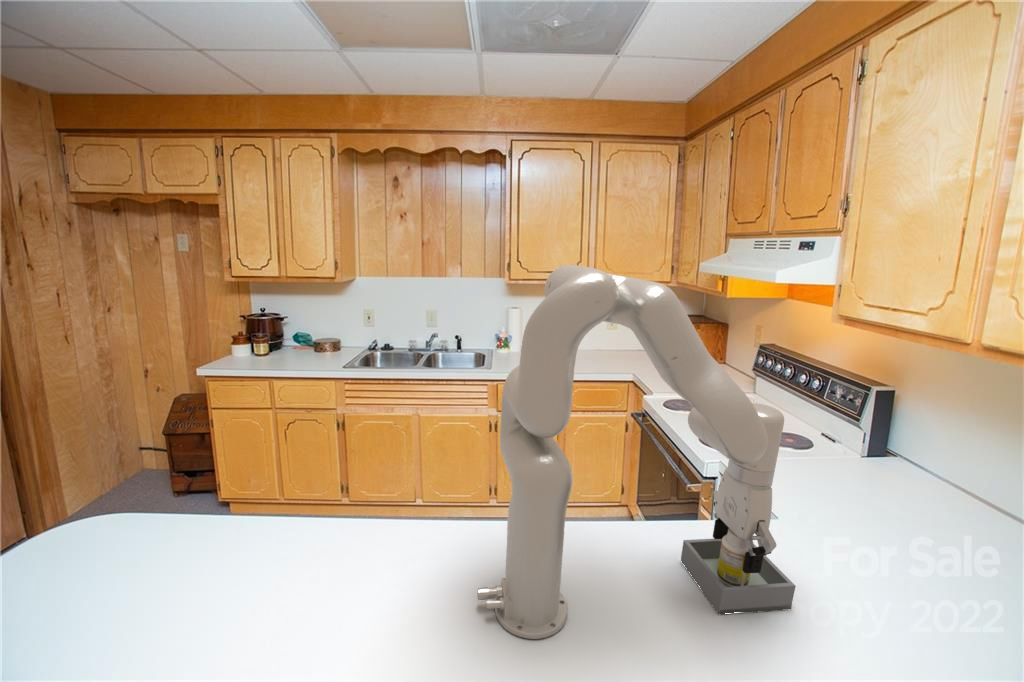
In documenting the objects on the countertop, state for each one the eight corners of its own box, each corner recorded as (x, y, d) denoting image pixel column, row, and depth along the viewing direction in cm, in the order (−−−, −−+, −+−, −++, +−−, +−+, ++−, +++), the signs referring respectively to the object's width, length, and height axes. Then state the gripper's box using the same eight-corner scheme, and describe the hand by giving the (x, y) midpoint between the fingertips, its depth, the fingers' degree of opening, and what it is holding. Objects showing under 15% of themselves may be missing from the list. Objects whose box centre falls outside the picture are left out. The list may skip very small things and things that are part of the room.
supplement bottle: (737, 569, 93) (745, 523, 91) (754, 589, 88) (762, 541, 86) (710, 569, 93) (718, 523, 90) (726, 590, 87) (734, 542, 85)
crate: (718, 615, 83) (722, 590, 82) (680, 561, 96) (683, 540, 95) (790, 609, 85) (795, 585, 84) (743, 558, 98) (746, 536, 97)
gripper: (705, 450, 93) (693, 527, 97) (762, 497, 76) (744, 588, 80) (740, 450, 94) (726, 526, 98) (803, 496, 78) (784, 586, 81)
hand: (735, 554), depth 89 cm, fingers open, 9 cm apart
